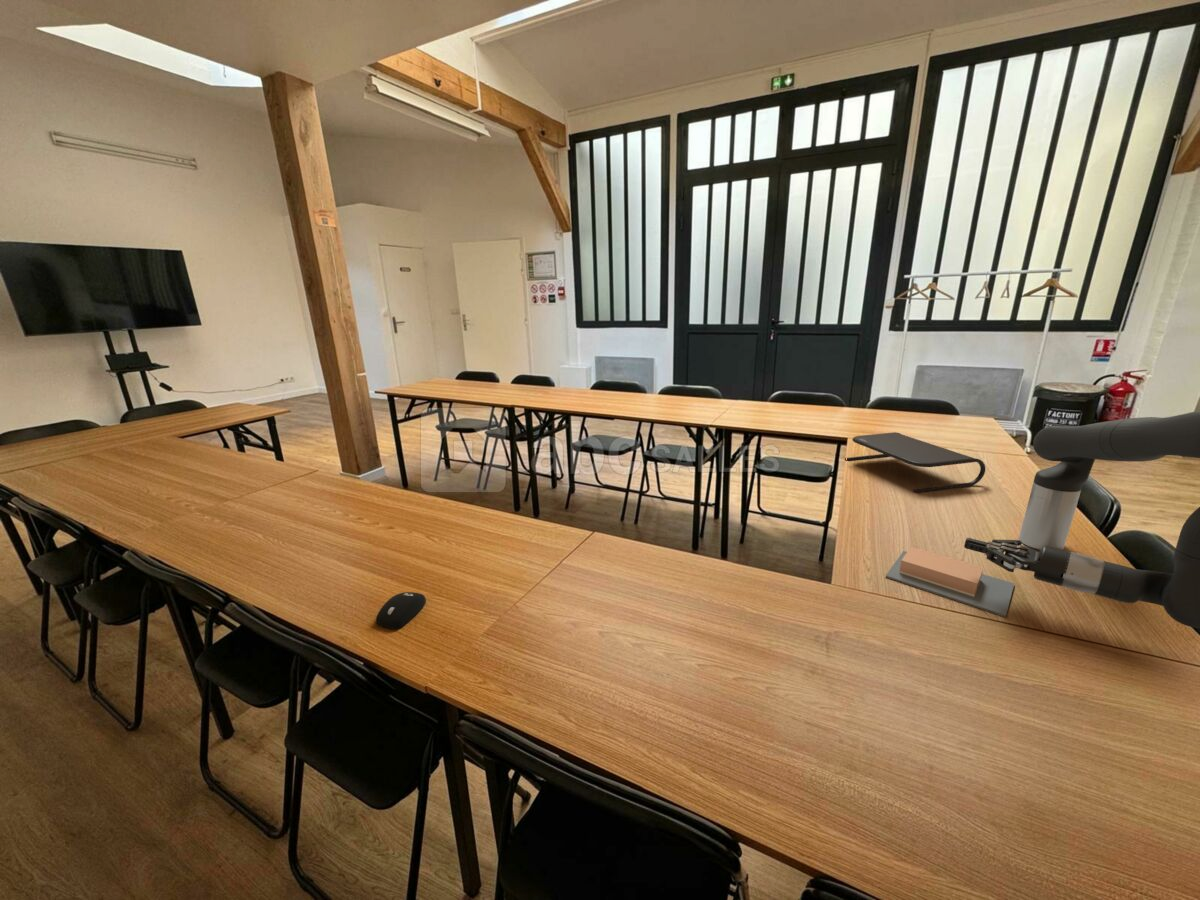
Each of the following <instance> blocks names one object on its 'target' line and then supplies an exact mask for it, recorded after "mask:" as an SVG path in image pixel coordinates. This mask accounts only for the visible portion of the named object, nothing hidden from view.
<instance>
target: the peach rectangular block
mask: <svg viewBox="0 0 1200 900" xmlns="http://www.w3.org/2000/svg"><path fill="white" fill-rule="evenodd" d="M906 552H907V553H906V554H905V556H904V557H903V559H902V560H901V565H900V571H899V573H902V574H905V575H908V576H911V577H914V578H917V579H920V580H924V581H927V582H930V583H933V584H936V585H939V586H942V587H945V588H948V589H952V590H955V591H958V592H961V593H964V594H967V595H970V596H973V597H974V596H975V593H976V591H977V588H978V586H979V583H980V580H981V577H982V574H983V572H984V567H983V566H979V565H977V564H973V563H969V562H966V561H963V560H959V559H956V558H952V557H949V556H946V555H942V554H937V553H935V552H931V551H927V550H923V549H921V548H917V547H914V546H910V547H909V549H907V551H906Z"/></svg>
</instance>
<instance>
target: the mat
mask: <svg viewBox="0 0 1200 900" xmlns="http://www.w3.org/2000/svg"><path fill="white" fill-rule="evenodd" d="M907 552H908V551H905V550H902V552H901V554H900V555H899V556H898V557H897V558H896V560H895V562H894V563H893V565H892V566H891V568H890V569H889V570H888V572H887V573H886V574H885V578H887V579H889V580H893V581H896V582H898V583H902V584H904V585H908V586H911V587H914V588H916V589H920V590H922V591H926V592H929V593H932V594H935V595H938V596H941V597H943V598H947V599H950V600H952V601H956V602H958V603H962V604H965V605H968V606H969V607H974V608H977V609H979V610H983V611H986V612H988V613H991V614H995V615H999V616H1001V617H1004V618H1006V616H1007V612H1008V609H1009V605H1010V602H1011V598H1012V594H1013V590H1014V588H1015V587H1014V586H1015V583H1014V582H1011V581H1009V580H1008V581H1007V580H1004V579H1001V578H997V577H994V576H991V575H987V574H984V573H982V577H981V580H980V583H979V586H978V588H977V591H976V593H975V596H974V597H973V596H970V595H967V594H964V593H961V592H958V591H955V590H952V589H948V588H945V587H942V586H939V585H936V584H933V583H930V582H927V581H924V580H920V579H917V578H914V577H911V576H908V575H905V574H902V573H899V571H900V565H901V560H902V559H903V557H904V556H905V554H906V553H907Z"/></svg>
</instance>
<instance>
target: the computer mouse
mask: <svg viewBox="0 0 1200 900" xmlns="http://www.w3.org/2000/svg"><path fill="white" fill-rule="evenodd" d="M426 603H427V598H426V597H425V595H424V594H422V593H419V592H413V591H411V592H409V591H405V592H400V593H398V594H397V593H396V594H395V595H393V596H392V597H390V598H389V599H388V600H387V601H386V602H385V603H384V604H383V605H382V607H381V608H380V609H379V611H378V612H377V615H376V618H375V623H376V625H377V626H378V627H381V628H385V629H389V630H399V629H401V628H404V626H405V625H407V624H408V623H410V622H411V620H413V619H414V618H415V617H416V616H417V615H418V614H419V612H420V611H422V610H423V608H424V607H425V605H426Z"/></svg>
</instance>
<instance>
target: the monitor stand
mask: <svg viewBox="0 0 1200 900" xmlns="http://www.w3.org/2000/svg"><path fill="white" fill-rule="evenodd" d="M852 442H853V443H855V444H857V445H859V446H862V447H865V448H868V449H870V450H872V451H875V452H878V453H879V454H872V455H871V454H869V455H860V456H859V455H858V456H852V457H850V456H849V457H845V458H844V461H845V462H851V461H859V460H869V459H881V458H889V457H890V458H893V459H894V460H895V459H896V460H898V461H901V462H904V463H905V464H909V465H911V466H915V467H921V468H934V467H935V468H936V467H943V466H953V465H960V464H970V463H977V464H978V465H979V469H980V470H979V473H978V475H977V476H976V477H975V478H974V480H972V481H969V482H963V483H962V482H961V483H954V484H945V485H938V486H930V487H929V486H928V487H922V488H921V487H920V488H914V489H913V490H912V491H913V493H915V494H918V493H928V492H936V491H943V490H951V489H959V488H960V489H961V488H967V487H972V486H974V485H977V484H978V483H979V482H980V481H981V480H982V479H983V478H984V476H985V473H986V464H985V463H984V461H982V460H981V459H980V458H975V457H972V456H969V455H965V454H963V453H959V452H957V451H954V450H950V449H947V448H944V447H941V446H938V445H935V444H933V443H929V442H926V441H924V440H923V441H922V440H920V439H918V438H917V439H916V438H913V437H912V436H907V435H905V434H902V433H900V432H893V431H892V432H884V433H883V432H882V433H874V434H863V435H857V436H853V438H852ZM846 458H847V460H846Z"/></svg>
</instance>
